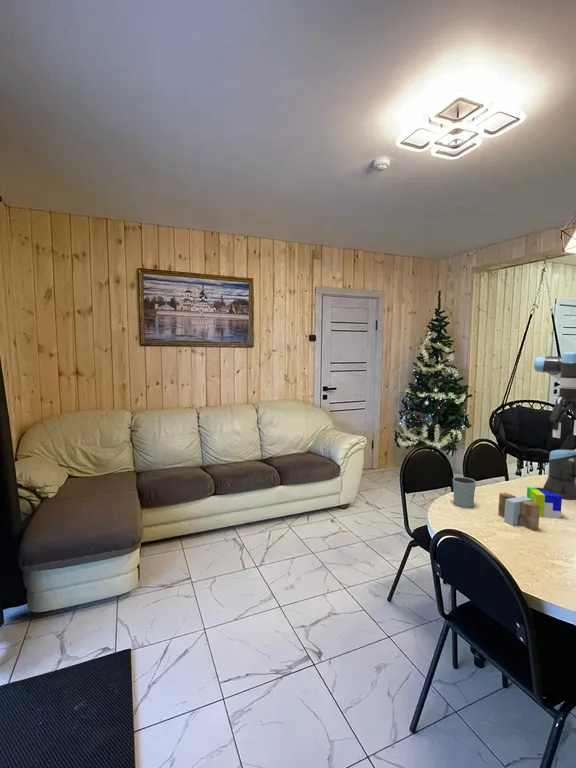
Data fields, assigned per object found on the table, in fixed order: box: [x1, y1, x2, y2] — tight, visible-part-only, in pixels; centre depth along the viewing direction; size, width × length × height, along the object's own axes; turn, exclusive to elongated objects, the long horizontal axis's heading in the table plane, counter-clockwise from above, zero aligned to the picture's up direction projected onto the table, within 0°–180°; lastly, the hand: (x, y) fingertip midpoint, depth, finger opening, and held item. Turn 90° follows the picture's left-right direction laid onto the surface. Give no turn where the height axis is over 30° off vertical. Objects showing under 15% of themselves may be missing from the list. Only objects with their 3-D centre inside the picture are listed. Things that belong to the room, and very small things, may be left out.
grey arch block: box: [503, 495, 532, 527], centre depth 162 cm, size 11×4×10 cm, turn 111°
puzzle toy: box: [526, 486, 563, 519], centre depth 172 cm, size 10×10×10 cm
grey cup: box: [452, 476, 477, 509], centre depth 181 cm, size 10×10×12 cm
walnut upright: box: [497, 492, 540, 531], centre depth 162 cm, size 16×4×10 cm, turn 21°
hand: (566, 436), depth 164 cm, fingers open, 13 cm apart
